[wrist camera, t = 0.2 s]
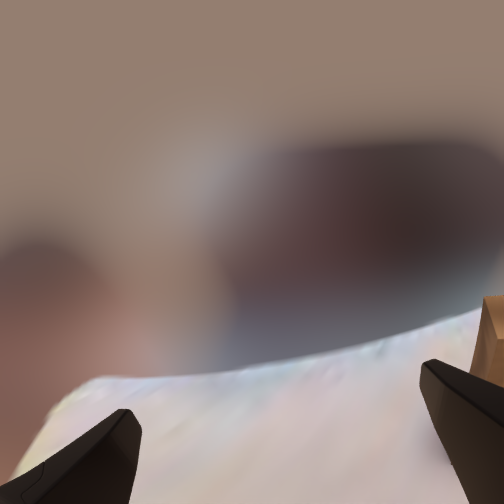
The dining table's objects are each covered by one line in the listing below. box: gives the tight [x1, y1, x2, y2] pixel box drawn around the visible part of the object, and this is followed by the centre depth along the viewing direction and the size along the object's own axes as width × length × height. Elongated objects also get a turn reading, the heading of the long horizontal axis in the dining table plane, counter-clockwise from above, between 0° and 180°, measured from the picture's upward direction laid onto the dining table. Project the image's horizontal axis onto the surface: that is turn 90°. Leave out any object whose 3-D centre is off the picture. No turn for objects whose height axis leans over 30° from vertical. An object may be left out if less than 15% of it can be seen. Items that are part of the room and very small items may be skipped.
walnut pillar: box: [451, 295, 504, 465], centre depth 14 cm, size 5×5×13 cm
